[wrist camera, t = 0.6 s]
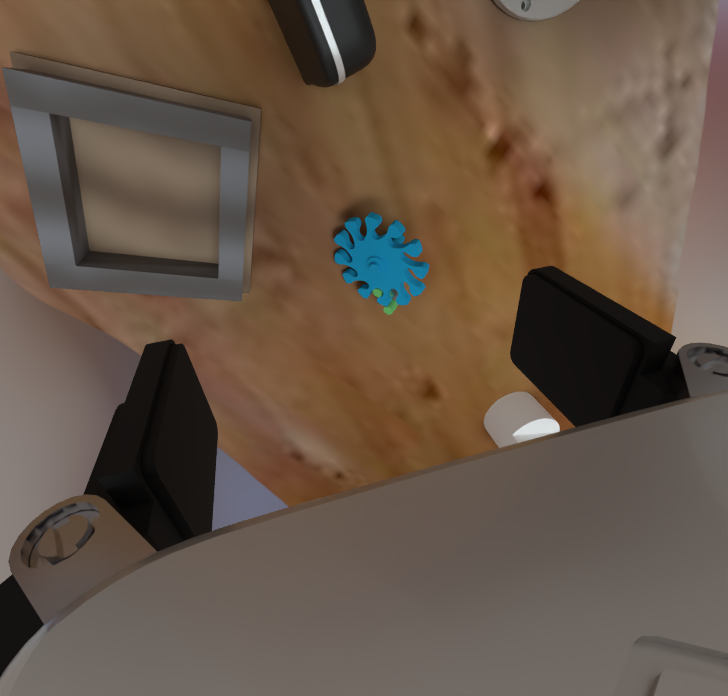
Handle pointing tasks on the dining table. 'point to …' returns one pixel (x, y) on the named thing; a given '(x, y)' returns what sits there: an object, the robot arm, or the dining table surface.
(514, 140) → the dining table surface
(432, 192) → the dining table surface
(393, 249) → the gear
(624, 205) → the dining table surface
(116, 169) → the frame
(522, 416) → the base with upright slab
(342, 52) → the battery charger
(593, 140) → the dining table surface
